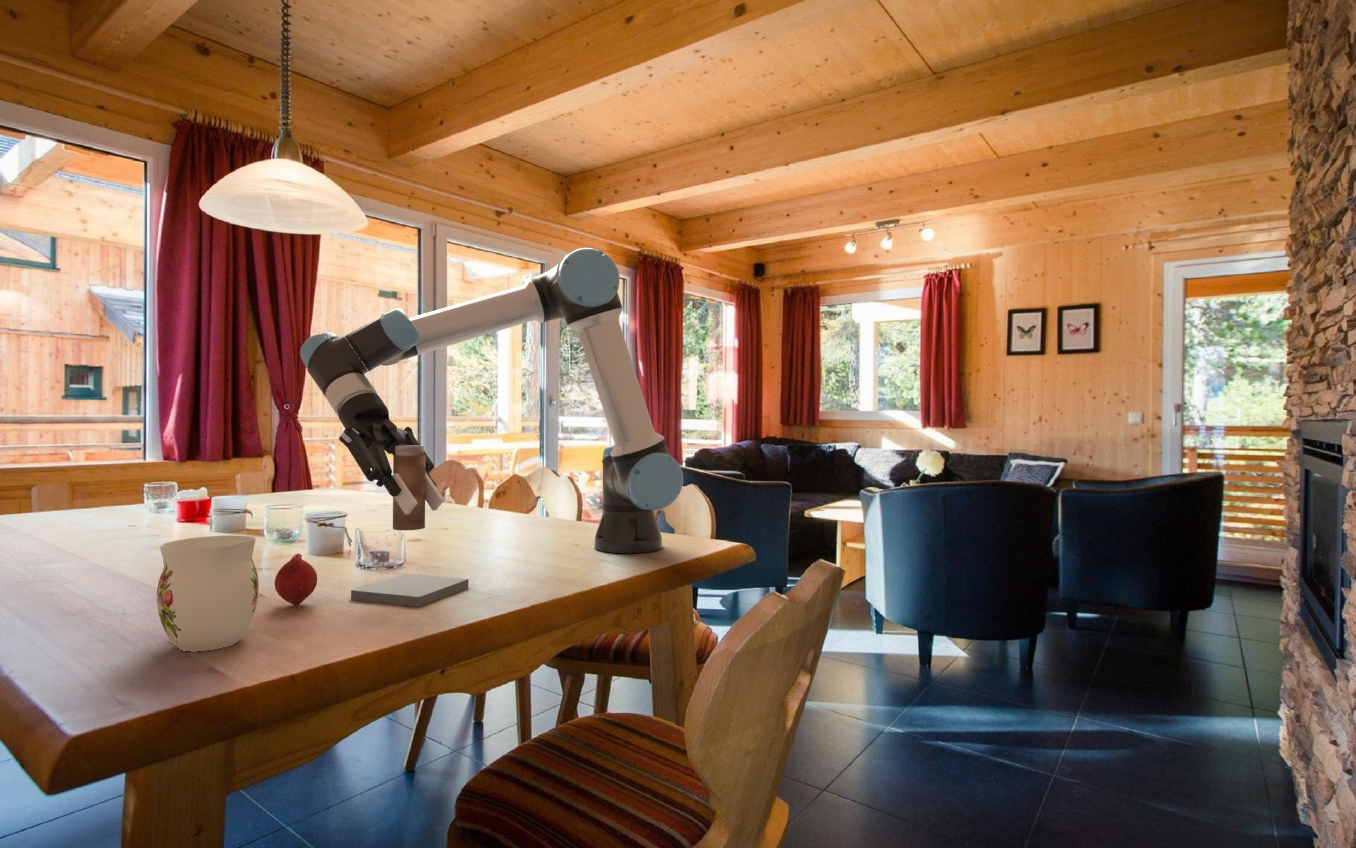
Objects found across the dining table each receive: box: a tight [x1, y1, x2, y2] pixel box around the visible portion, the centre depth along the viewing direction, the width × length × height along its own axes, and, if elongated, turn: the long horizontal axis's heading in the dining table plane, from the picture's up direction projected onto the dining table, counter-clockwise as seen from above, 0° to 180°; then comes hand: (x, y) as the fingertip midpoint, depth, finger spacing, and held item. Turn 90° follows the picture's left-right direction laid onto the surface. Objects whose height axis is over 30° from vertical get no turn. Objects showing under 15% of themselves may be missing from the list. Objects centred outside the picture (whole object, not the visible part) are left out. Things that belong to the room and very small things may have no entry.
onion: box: [274, 553, 318, 606], centre depth 112 cm, size 6×6×8 cm
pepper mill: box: [392, 445, 426, 531], centre depth 120 cm, size 5×5×14 cm
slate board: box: [350, 573, 469, 608], centre depth 120 cm, size 13×13×2 cm
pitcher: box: [156, 535, 260, 653], centre depth 94 cm, size 11×18×14 cm, turn 45°
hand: (425, 506), depth 118 cm, fingers closed on pepper mill, 5 cm apart
